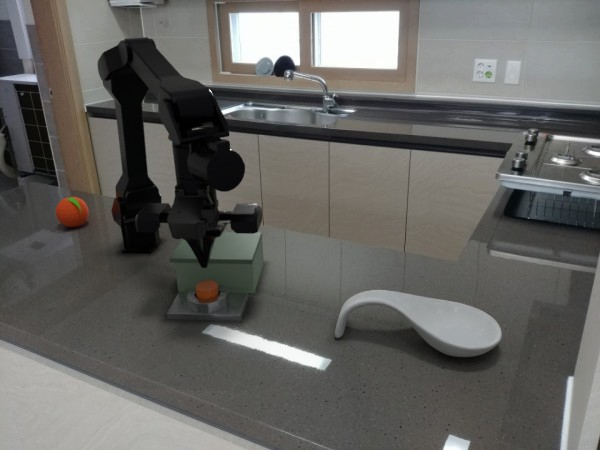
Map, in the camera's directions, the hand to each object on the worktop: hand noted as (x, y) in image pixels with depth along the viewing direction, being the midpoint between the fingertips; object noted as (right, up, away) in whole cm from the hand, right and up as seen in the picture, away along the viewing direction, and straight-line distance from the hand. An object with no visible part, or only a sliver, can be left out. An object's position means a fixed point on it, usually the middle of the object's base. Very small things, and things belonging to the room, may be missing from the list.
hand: (204, 266), depth 86 cm
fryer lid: (0, +3, +11) cm, 11 cm away
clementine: (-36, +6, +37) cm, 52 cm away
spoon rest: (+32, -11, -6) cm, 35 cm away
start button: (0, -5, +2) cm, 5 cm away
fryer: (+1, -3, +13) cm, 14 cm away
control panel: (0, -7, +3) cm, 8 cm away
